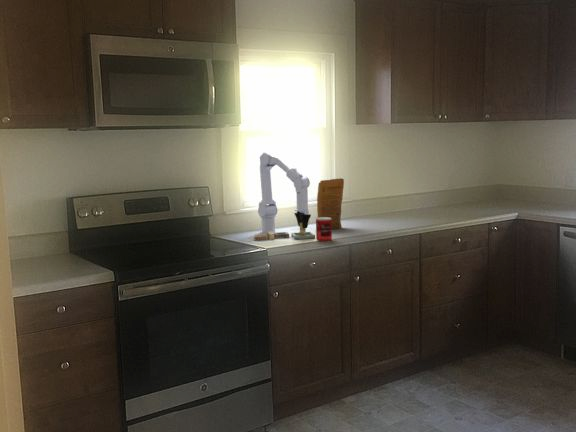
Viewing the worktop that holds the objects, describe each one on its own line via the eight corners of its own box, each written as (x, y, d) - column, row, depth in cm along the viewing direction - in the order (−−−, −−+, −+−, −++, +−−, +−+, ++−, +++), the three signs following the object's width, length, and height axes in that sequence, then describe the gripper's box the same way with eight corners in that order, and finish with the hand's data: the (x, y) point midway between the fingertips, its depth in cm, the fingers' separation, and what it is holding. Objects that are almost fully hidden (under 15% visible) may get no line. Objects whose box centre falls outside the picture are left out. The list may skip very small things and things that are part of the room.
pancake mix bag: (348, 227, 364) (347, 178, 361) (320, 231, 354) (318, 180, 351) (341, 226, 370) (340, 177, 366) (313, 229, 360) (312, 179, 357)
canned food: (322, 238, 328) (321, 216, 327) (335, 239, 323) (334, 217, 322) (313, 240, 322) (312, 218, 321) (326, 241, 317) (325, 219, 316)
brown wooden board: (254, 238, 336) (254, 234, 336) (266, 238, 337) (265, 233, 336) (255, 241, 327) (255, 236, 327) (267, 240, 328) (266, 236, 328)
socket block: (274, 236, 340) (273, 232, 339) (287, 235, 341) (287, 232, 340) (275, 238, 333) (275, 234, 332) (289, 237, 334) (289, 233, 334)
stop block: (267, 237, 337) (267, 231, 336) (272, 237, 337) (272, 231, 337) (269, 239, 329) (269, 233, 328) (274, 239, 329) (274, 233, 329)
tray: (291, 236, 339) (291, 232, 338) (310, 235, 340) (310, 231, 340) (295, 239, 327) (295, 236, 326) (315, 238, 328) (315, 235, 328)
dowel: (299, 236, 334) (299, 222, 334) (305, 235, 335) (304, 222, 334) (300, 237, 331) (300, 223, 331) (306, 236, 332) (306, 223, 331)
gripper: (290, 199, 337) (291, 225, 339) (299, 202, 323) (299, 229, 325) (303, 199, 339) (304, 224, 341) (312, 201, 325) (312, 228, 327)
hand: (302, 227), depth 333 cm, fingers open, 7 cm apart
